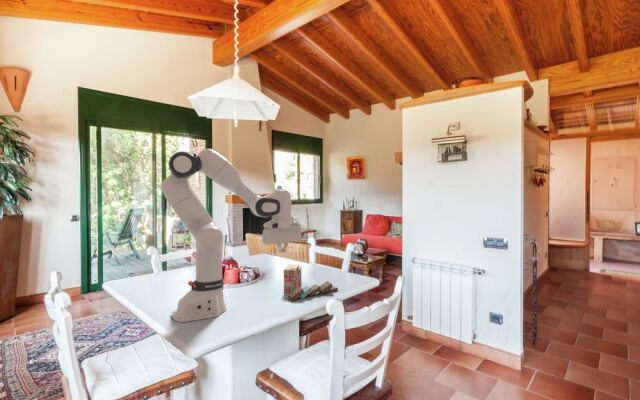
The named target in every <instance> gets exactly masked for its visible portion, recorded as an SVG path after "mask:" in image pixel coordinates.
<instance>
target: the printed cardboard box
mask: <svg viewBox="0 0 640 400" xmlns="http://www.w3.org/2000/svg"><path fill="white" fill-rule="evenodd" d="M300 284H302V266H301V265H299V264H287V265H286V267H285V268H284V269H283V293H291V292H292V291H293V290H294V289H296V288H297V287H299V288H300Z"/></svg>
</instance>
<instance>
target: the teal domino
mask: <svg viewBox="0 0 640 400" xmlns="http://www.w3.org/2000/svg"><path fill="white" fill-rule="evenodd" d="M301 288H302V289H303V291H304V293H303V294H302V295H301V296H299V297H298V298H299V299H300V300H303V299H304V298H305V297H308V294H309V293H311V292H312V288H311V286H308V285H305V286H303V287H301Z"/></svg>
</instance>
